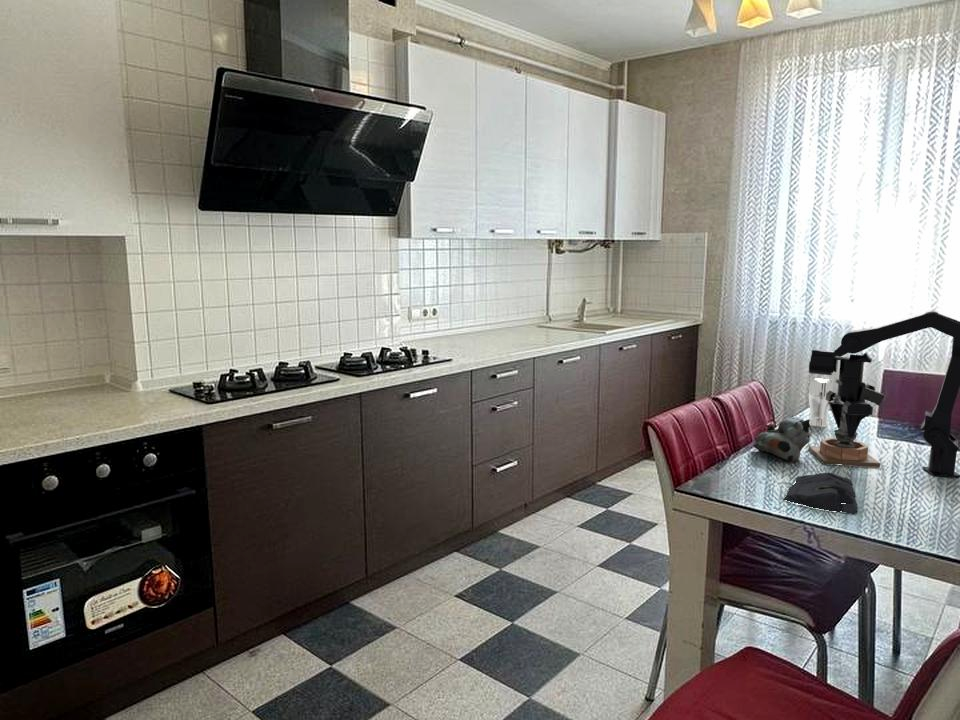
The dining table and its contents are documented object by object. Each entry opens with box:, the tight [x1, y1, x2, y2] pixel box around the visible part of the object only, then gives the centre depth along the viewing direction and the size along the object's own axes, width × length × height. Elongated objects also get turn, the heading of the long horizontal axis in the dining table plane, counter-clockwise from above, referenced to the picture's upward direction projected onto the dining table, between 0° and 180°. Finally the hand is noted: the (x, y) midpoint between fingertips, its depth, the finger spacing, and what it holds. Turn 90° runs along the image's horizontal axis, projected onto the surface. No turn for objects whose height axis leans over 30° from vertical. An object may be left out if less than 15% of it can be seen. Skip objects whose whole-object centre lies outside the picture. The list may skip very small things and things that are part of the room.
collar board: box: [808, 437, 881, 468], centre depth 194 cm, size 14×14×4 cm
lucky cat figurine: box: [752, 416, 812, 463], centre depth 194 cm, size 15×12×14 cm
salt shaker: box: [833, 407, 858, 448], centre depth 192 cm, size 6×6×12 cm
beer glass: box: [808, 378, 834, 428], centre depth 229 cm, size 7×7×15 cm
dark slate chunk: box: [783, 472, 859, 515], centre depth 164 cm, size 15×22×5 cm
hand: (845, 432), depth 193 cm, fingers closed on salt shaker, 8 cm apart
